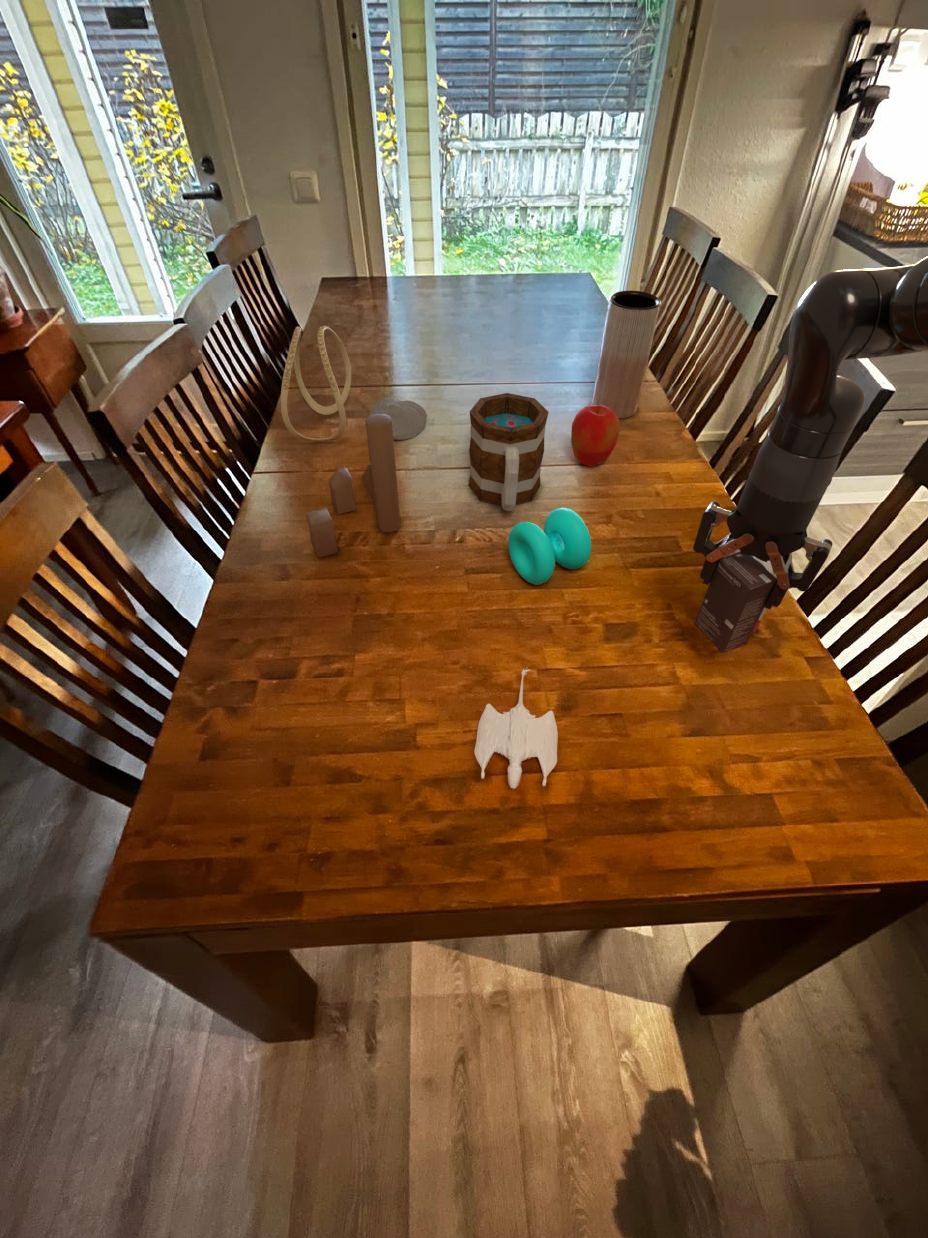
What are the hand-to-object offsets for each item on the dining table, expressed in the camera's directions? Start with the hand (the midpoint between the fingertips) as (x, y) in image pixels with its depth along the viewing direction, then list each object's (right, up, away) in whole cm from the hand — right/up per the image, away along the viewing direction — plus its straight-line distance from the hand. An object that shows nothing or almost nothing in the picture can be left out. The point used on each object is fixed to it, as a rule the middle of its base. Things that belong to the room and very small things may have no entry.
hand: (737, 592), depth 77 cm
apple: (-9, +28, +46) cm, 54 cm away
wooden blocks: (-54, +15, +34) cm, 66 cm away
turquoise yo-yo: (-21, +5, +24) cm, 32 cm away
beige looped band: (-63, +37, +54) cm, 91 cm away
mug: (-26, +19, +38) cm, 50 cm away
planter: (-1, +43, +61) cm, 75 cm away
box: (0, -6, +6) cm, 8 cm away
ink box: (+7, -2, +17) cm, 19 cm away
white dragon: (-27, -18, +2) cm, 33 cm away
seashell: (-48, +37, +54) cm, 81 cm away
